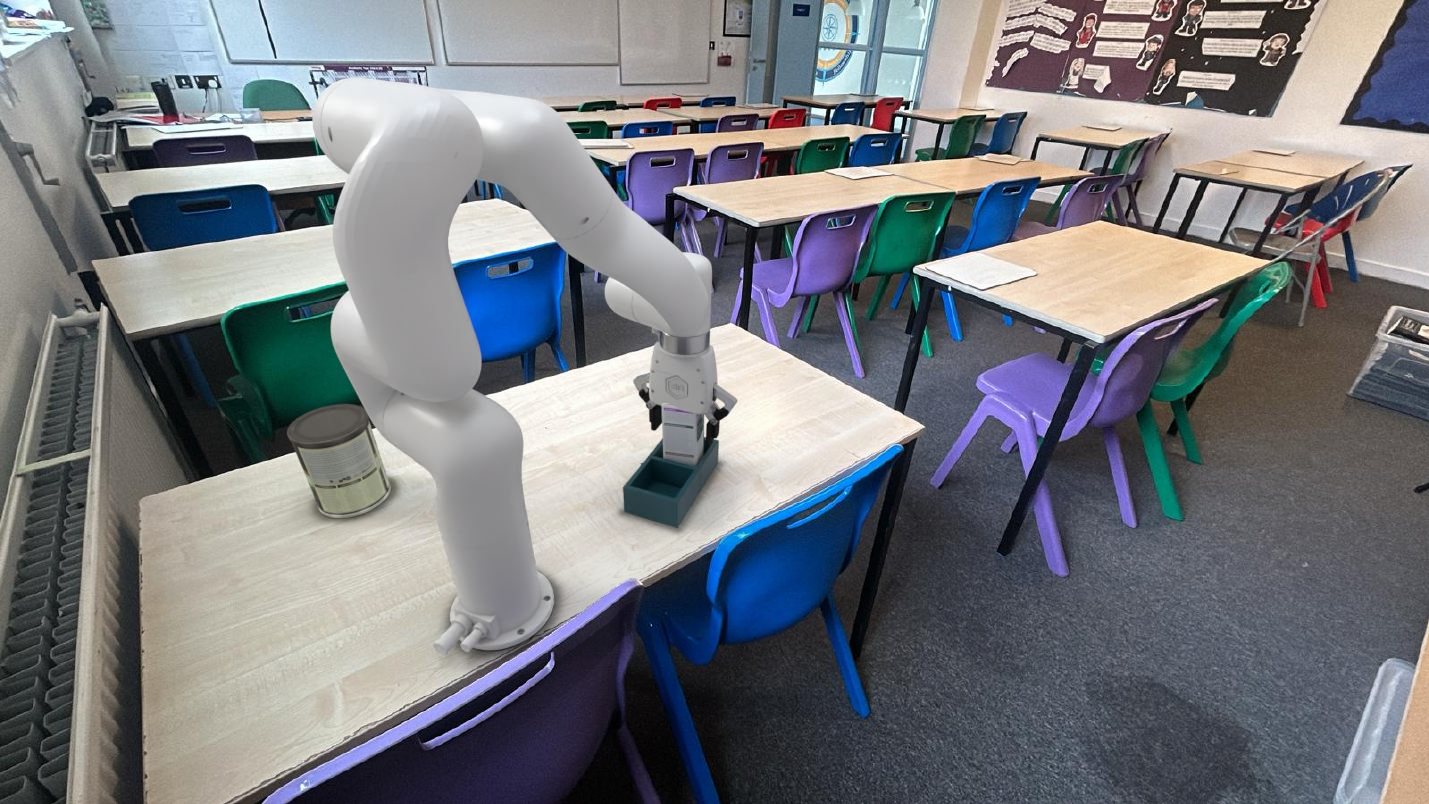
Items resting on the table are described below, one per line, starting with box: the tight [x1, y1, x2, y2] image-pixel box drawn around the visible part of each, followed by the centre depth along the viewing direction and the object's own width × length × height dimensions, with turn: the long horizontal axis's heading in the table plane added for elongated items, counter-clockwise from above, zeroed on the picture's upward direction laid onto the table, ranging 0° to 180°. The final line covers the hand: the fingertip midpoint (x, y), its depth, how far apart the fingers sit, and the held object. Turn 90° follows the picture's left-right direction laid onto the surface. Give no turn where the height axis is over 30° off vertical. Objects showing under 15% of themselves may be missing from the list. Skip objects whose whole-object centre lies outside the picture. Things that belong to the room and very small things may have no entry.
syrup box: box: [661, 403, 705, 467], centre depth 99 cm, size 6×6×14 cm
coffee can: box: [286, 403, 392, 519], centre depth 92 cm, size 10×10×14 cm
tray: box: [622, 436, 720, 529], centre depth 99 cm, size 17×9×5 cm, turn 159°
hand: (683, 433), depth 99 cm, fingers open, 9 cm apart
